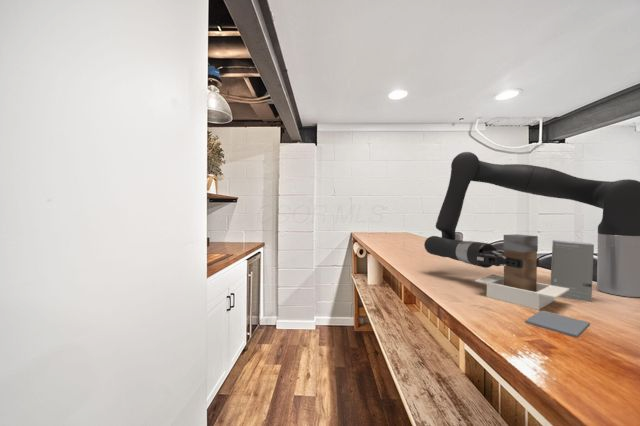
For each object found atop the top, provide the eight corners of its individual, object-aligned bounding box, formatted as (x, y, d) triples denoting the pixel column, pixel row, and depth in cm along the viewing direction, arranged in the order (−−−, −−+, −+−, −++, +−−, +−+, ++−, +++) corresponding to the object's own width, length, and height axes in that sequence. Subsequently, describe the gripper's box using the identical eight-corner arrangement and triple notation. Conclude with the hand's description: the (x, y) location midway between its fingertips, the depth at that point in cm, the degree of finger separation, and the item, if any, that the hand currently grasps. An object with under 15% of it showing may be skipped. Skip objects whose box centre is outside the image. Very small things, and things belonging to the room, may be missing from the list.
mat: (541, 314, 61) (541, 310, 61) (589, 327, 55) (589, 322, 55) (524, 325, 55) (524, 320, 55) (576, 340, 49) (576, 335, 49)
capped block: (517, 294, 74) (517, 234, 73) (537, 300, 69) (537, 236, 68) (503, 296, 72) (503, 234, 72) (522, 302, 67) (522, 236, 67)
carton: (493, 289, 81) (493, 274, 81) (569, 306, 67) (569, 288, 66) (475, 296, 74) (475, 280, 74) (555, 316, 60) (555, 296, 60)
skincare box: (550, 297, 73) (551, 241, 73) (550, 291, 79) (550, 238, 79) (594, 304, 68) (594, 243, 68) (590, 297, 73) (591, 241, 73)
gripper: (456, 242, 82) (509, 250, 66) (492, 241, 86) (550, 248, 70) (456, 266, 82) (509, 280, 66) (492, 263, 86) (550, 276, 70)
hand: (530, 263), depth 68 cm, fingers closed on capped block, 5 cm apart
